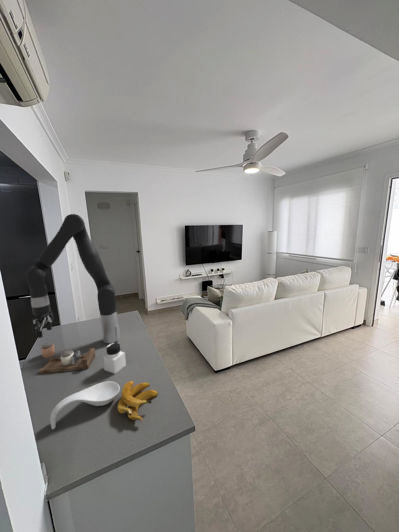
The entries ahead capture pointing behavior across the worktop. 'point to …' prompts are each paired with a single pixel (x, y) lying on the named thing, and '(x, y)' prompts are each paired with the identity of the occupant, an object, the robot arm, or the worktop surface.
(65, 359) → the cream jar
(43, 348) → the terracotta jar
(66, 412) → the worktop surface
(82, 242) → the robot arm
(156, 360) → the worktop surface
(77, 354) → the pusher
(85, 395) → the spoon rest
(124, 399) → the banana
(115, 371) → the medicine bottle
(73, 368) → the lane
